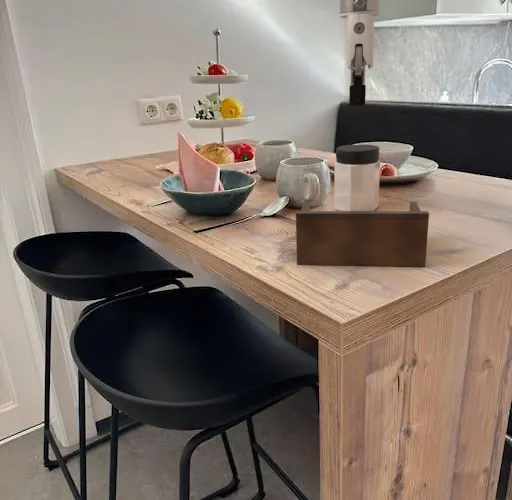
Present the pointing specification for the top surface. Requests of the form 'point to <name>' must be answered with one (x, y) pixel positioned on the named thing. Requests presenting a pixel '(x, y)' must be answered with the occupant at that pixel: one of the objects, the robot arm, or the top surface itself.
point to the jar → (356, 178)
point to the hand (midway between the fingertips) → (357, 105)
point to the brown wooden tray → (362, 237)
